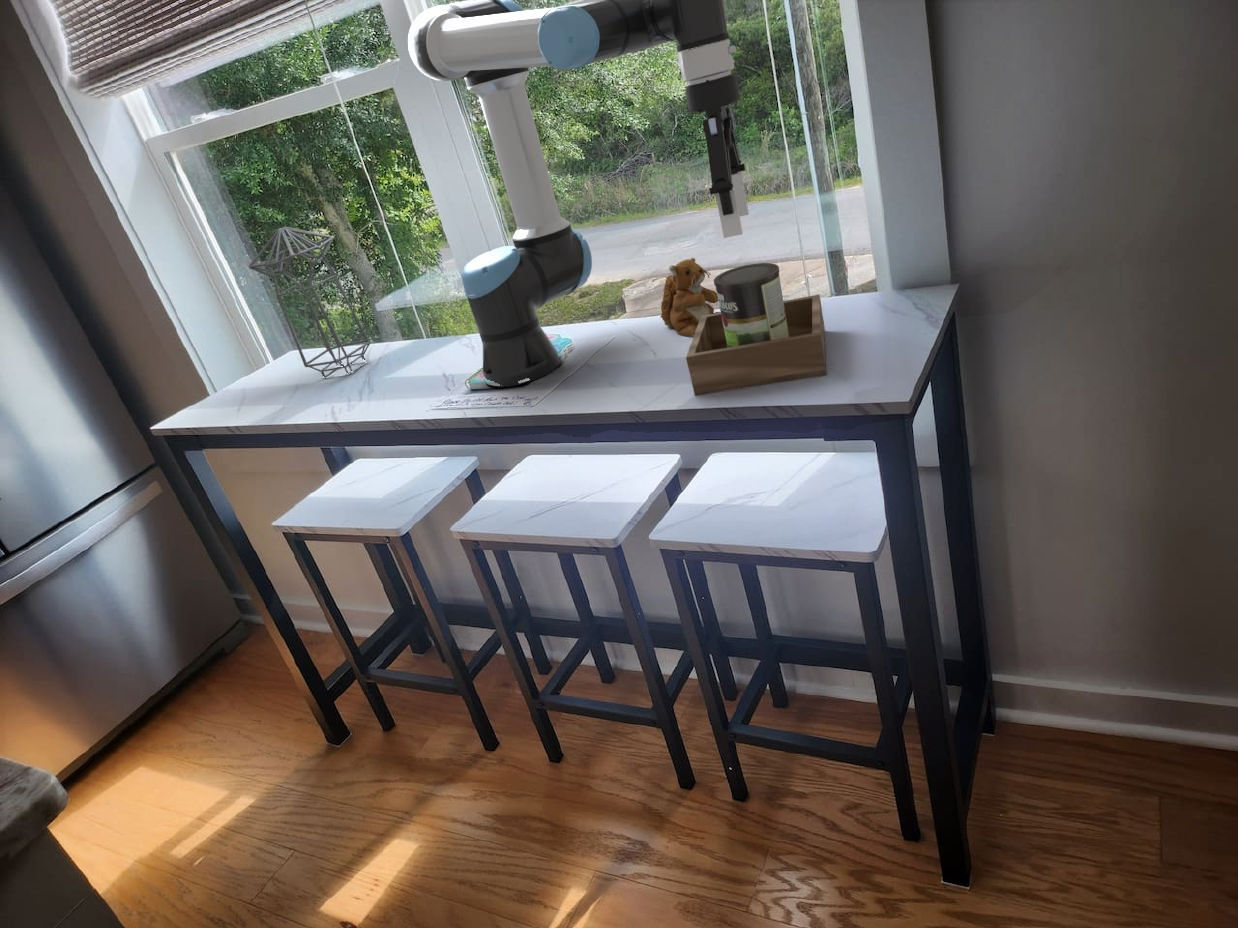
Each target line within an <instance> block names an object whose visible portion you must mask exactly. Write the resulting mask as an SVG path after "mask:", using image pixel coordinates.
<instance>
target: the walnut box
mask: <svg viewBox="0 0 1238 928" xmlns="http://www.w3.org/2000/svg"><path fill="white" fill-rule="evenodd" d="M820 295H821V294H815V295H814V294H813V295H810V296H809V295H808V296H804V297H797V298H791V299H788V300H783V302H784V308H785V314H786V321H787V327H788V333H789V337H788V338H782V339H776V340H770V341H764V342H758V343H752V344H747V345H741V346H735V347H729V348H728V347H727V342H726V336H725V331H724V326H723V321H722V316H721V311H719V312H720V313H715V312H714V313H715V314H709V315H704V316H701V318H700V320H699V323H698V326H697V329H696V331H695V334H694V336H692V340H691V343H690V345H689V348H688V351H687V353H686V356H685V358H686V363H687V367H688V373H689V378H690V381H691V385H692V389H693V393H694V397H695V396H700V395H708V394H713V393H714V394H715V393H721V392H726V391H733V390H740V389H746V388H747V389H748V388H751V387H752V388H753V387H758V386H759V387H760V386H766V385H771V384H772V385H773V384H777V383H784V382H785V383H786V382H790V381H797V380H805V379H811V378H817V377H823V376H824V377H825V376H827V375H828V374H827V351H826V350H827V349H826V346H827V345H826V328H825V327H826V326H825V322H824V315H823V308H822V303H821V296H820Z"/></svg>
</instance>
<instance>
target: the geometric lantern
mask: <svg viewBox="0 0 1238 928" xmlns="http://www.w3.org/2000/svg"><path fill="white" fill-rule="evenodd" d="M287 235H288V236H289V238H290V239H291V241H292V242H293V244H294V245H295V246H292V245H291V243H290V241H289V239H288V237H287ZM304 235H307V236H313V237H319V238H322V239H320V240H318V241H315V240H312V239H311V238H308V237H306V236H304ZM334 239H336V236H333V235H329V234H323V233H320V232H319V233H318V232H315V231H310V230H304V229H300V228H299V229H298V228H294V227H290V226H282V227H279V228H278V229H277V230H276V232H275V233H274V235H272V237H271V238H270V239H269V241H268V242H266V245H264V246H263V248H262V249H261V250H260V251H259V252H258V253H257V255H256V256H255V257H254V259H253V260H252V261H251V262H250V263H249V265H248V268H249V269H250V270H253V271H255V272H258V273H260V274H261V275H262V274H263V275H265V276H267V277H270V278H273V282H274V288H275V293H276V294H275V295H276V299H277V302H278V304H279V306H280V309H281V310H282V313H283V315H284V318H285V321H286V323H287V326H288V327H289V330H290V333H291V334H292V337H293V339H294V341H295V344H296V345H295V346H296V347H297V350H298V353H299V355H300V358H301V361H302V363H303V366H304V367H305V368H310V369H312V370H315V371H318V372H320V373H321V375H322V377H323V376H324V377H325V375H326V374H325V373H324V372H329V371H330V372H331V371H333V370H335V369H337V370H340V369H344V370H345V372H346V373H345V374H347V373H348V374H349V371H350V372H351V371H353V369H352V367H351V365H350V364H352V363H356V361H357V360H359V359H360V358H361V359H362V360H363V359H364V360H366V358H365V356H364V355H365V354H366V352H367V350H368V348H369V346H370V345H371V341H370V339H369V337H368V335H367V333H366V332H365V330H364V327H363V326H362V324H361V322H360V321H359V318H358V316H357V314H356V312H355V311H354V309H353V307H352V305H351V303H350V301H349V299H348V296H347V295H346V291H345V290H344V288H343V286H342V284H341V282H340V280H339V278H338V275H337V272H335V270H334V269H333V268H332V266H331V264H330V262H329V261H328V260H327V257H326V255H327V252H328V251H329V249H330V247H331V245H332V243H333V240H334ZM272 242H273V245H272V247H271V249H270V251H269V254H268V257H267V260H264V261H261V262H257V263H256V261H258V259H259V258H260V257H261V256H262V254H263V253H264V252H265V251H266V250H267V249H268V247H270V245H271V244H272ZM284 243H285V245H286V247H287V249H285V245H284ZM281 244H282V250H281V251H280V249H281ZM298 245H299V246H298ZM275 249H276V254H275V258H273V254H274V252H275ZM303 249H304V250H303ZM316 249H318V250H319V251H320V253H319V255H315V252H314V251H315V250H316ZM286 252H289V254H290V255H288V256H286V257H285V253H286ZM294 252H296V253H294ZM310 254H311V255H310ZM280 256H281V257H280ZM297 256H300V257H301V258H302V259H305V260H307V261H308V262H309V263H310V266H309V270H308V271H309V272H308V279H306V280H303V281H302V280H300V279H299V278H298V277H296V276H294V275H293V274H292V273H290V272H288V271H286V270H287V268H288V267H289V265H290V263H291V261H292V259H293V258H294V257H297ZM272 258H273V259H272ZM285 261H287V262H286V263H285V265H284V262H285ZM321 261H322V262H323V263H324V265H325V266H326V267H327V269H328V271H330V274H326V275H321V276H318V277H314V278H313V276H314V270H315V265H317V264H318V263H319V264H320V263H321ZM273 265H274V266H275V267H276V269H275V270H274V269H273V267H272V266H273ZM263 267H266V268H263ZM278 272H279V273H278ZM275 273H276V274H275ZM282 275H284V276H285V277H286V278H288V279H289V280H290V281H292V282H293V284H295V285H293V286H290V287H289V288H286V289H284V290H283V291H281V292H280V289H279V285H278V282H277V281H278V280H277V278H278V277H281V276H282ZM326 277H327V278H326ZM324 278H325V279H324ZM319 279H324V280H321V281H319V282H317V283H315V284H312V281H315V280H319ZM331 279H333V280H334V281H335V283H336V285H337V287H338V289H339V291H340V293H341V295H342V296H343V298H344V300H345V302H346V305H347V306H348V308H349V310H350V312H351V314H352V316H353V318H354V320H355V322H356V325H357V326H358V329H359V330H360V332H361V336H362V337H363V339H361V340H357V341H353V342H348V343H344V344H343V343H342V342H341V340H340V339H339V336H338V334H337V333H336V330H335V328H334V327H333V325H332V322H331V320H330V318H329V316H328V315H327V312H326V310H325V308H324V307H323V305H322V303H321V300H320V298H319V297H318V295H317V293H316V290H315V289H314V287H317V286H319V285H321V284H323V283H325V282H327V281H329V280H331ZM306 283H308V287H306V286H305V285H304V284H306ZM295 287H300V288H301V289H297V290H293V291H290V290H292V289H294V288H295ZM305 287H306V288H305ZM309 290H310V291H311V292H312V294H313V296H314V297H315V301H316V302H317V304H318V306H319V309H320V311H321V313H322V316H323V317H324V320H325V321H326V324H327V326H328V328H329V331H330V332H331V335H332V337H333V339H334V342H335V344H336V346H335V345H334V346H333V347H331V344H330V342H329V340H328V338H327V336H326V333H325V331H324V328H323V326H322V324H321V323H320V320H319V317H318V315H317V313H316V311H315V309H314V306H313V304H312V301H311V299H310V297H309V294H308V292H307V291H309ZM288 291H289V292H288ZM300 292H303V294H304V295H305V298H306V300H307V303H308V306H309V308H310V311H311V313H312V316H313V318H314V320H315V323H316V326H317V329H318V331H319V333H320V334H319V335H320V336H321V339H322V342H323V343H324V347H325V350H323V351H322V352H321V353H319V354H318V355H316V356H315V357H313V358H311V359H310V360H308V361H307V360H306V358H305V356H304V353H303V350H302V347H301V346H300V343H299V341H298V338H297V336H296V333H295V331H294V327H293V326H292V322H291V320H290V316H289V314H288V311H287V309H286V306H285V303H284V300H283V298H282V296H286V295H291V294H295V293H300ZM361 343H362V345H361V346H359V347H358V348H356V349H355V350H353V351H351V352H349V353H348V354H347V352H346V350H345V348H344V347H347V346H353V345H358V344H361ZM363 343H364V344H363ZM335 349H338V350H337V351H338V353H337V354H338V358H337V359H336V356H335V354H334V352H333V350H335ZM360 350H361V352H360V353H357V352H359V351H360ZM341 351H342V353H343V355H344V356H342V357H341ZM327 353H329V354H330V356H331V358H332V359H333V360H330V361H324V362H319V363H318V362H317V363H313V362H314V361H315V360H317V359H318V358H320V357H322V356H324V354H327ZM355 353H357V354H355ZM357 356H358V357H357ZM354 357H356V358H355V359H353V360H352V361H351V362H350V361H349V359H350V358H354ZM345 359H346V364H347V365H346V366H344V363H343V362H342V361H344V360H345ZM311 363H312V364H311ZM341 363H342V364H341ZM333 364H335V365H336V367H332V368H329V367H330V366H332V365H333ZM338 364H339V365H338ZM324 365H326V366H324ZM337 365H338V366H343V367H337ZM317 366H324V367H323V368H321V369H319V368H317ZM347 368H349V371H348V370H347ZM335 371H336V370H335Z"/></svg>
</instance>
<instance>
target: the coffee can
mask: <svg viewBox="0 0 1238 928" xmlns="http://www.w3.org/2000/svg"><path fill="white" fill-rule="evenodd" d="M713 284H714V286H715V290H716V291H715V292H716V293H717V296H718V306H719V310H720V311H719V312H721V316H722V321H723V326H724V331H725V336H726V342H727V347H728V348H729V347H735V346H741V345H747V344H752V343H758V342H764V341H770V340H776V339H782V338H788V337H789V333H788V327H787V321H786V314H785V308H784V302H783V301H784V298H783V290H782V283H781V278H780V266H779V265H777V264H776V263H770V262H762V263H761V262H760V263H753V264H751V263H750V264H745V265H741V266H738V267H734V268H732V269H729V270H728V269H727V270H726V271H724V272H721V273H720V274H718V275H717V276H716V277H715V278H714V279H713Z"/></svg>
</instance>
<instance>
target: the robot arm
mask: <svg viewBox="0 0 1238 928" xmlns="http://www.w3.org/2000/svg"><path fill="white" fill-rule="evenodd" d="M726 16H727V15H726V10H725V3H724V0H595V1H589V2H584V3H578V4H573V5H563V6H558V7H557V6H556V7H550V8H549V7H548V8H547V7H546V8H537V9H532V10H524V9H523V8H522V7H521V5H520V4H519V3H516V2H515V1H514V0H461V1H458V2H457V1H456V2H452V3H447V4H440V5H436V6H432V7H431V8H427V9H426V10H424V11H422V12H421V13H420V14H419V15H418V16H417V17H416V18H415V20H414V21H413V22H412V24H411V25H410V28H409V31H408V36H407V45H408V46H407V47H408V52H409V55H410V58H411V60H412V62H413V64H414V66H416V68H417V69H418V70H419V71H420V72H421V73H422V75H423V74H424V76H426V77H428V78H430V79H431V80H435V81H439V82H440V81H441V82H450V81H451V82H452V81H456V80H457V81H458V80H462V79H464V82H465V85H466V87H467V90H468V91H470V92H471V93H473V94H474V95H476V96H477V97H478V98H479V102H480V105H481V109H482V112H483V117H484V120H485V121H486V122H485V123H486V126H487V129H488V133H489V137H490V140H491V143H492V147H493V149H494V153H495V157H496V159H497V163H498V166H499V167H498V168H499V169H500V173H501V176H502V180H503V184H504V186H505V187H504V188H505V190H506V194H507V197H508V201H509V203H510V207H511V211H512V215H513V218H514V221H515V224H516V230H515V232H514V234H513V236H512V243H513V245H514V246H513V245H504V246H500V247H496V248H494V249H492V250H491V251H486V252H484V253H482V254H480V255H477V256H476V257H475V258H473V259H472V260H471V261H469V262H468V263H466V264H465V266H464V267H463V269H462V271H461V280H462V281H461V282H462V285H463V289H464V294H465V296H466V298H467V300H468V304H469V307H470V309H471V313H472V316H473V318H474V322H475V325H476V328H477V331H478V335H479V336H480V339H481V343H482V375H483V378H484V377H485V378H486V379H487V380H490V381H494V382H495V383H498V384H500V387H499V388H507V387H514V386H519V385H520V384H519V383H518V381H520V380H523V379H525V378H529V379H530V380H531V381H530V382H532V381H535V380H537V379H540V378H542V377H544V376H546V375H548V374H550V373H551V372H553V371H554V370H555V369H557V368H558V367H559V365H560V363H561V360H559V359H560V357H559V352H558V350H557V348H556V347H555V346H554V344H553V343H552V341H551V340H550V338H549V337H548V336H547V334H546V333H545V331H544V329H543V328H542V326H541V324H540V321H539V317H538V313H537V309H539V308H541V307H543V306H545V305H547V304H549V303H552V302H554V301H555V300H557V299H558V300H559V299H560V298H562V297H564V296H569V295H571V294H572V293H574V292H575V291H576V290H578V289H579V288H581V287H583V286H584V285H585V284H586V283H587V281H588V279H589V278H590V275H591V272H592V265H593V259H592V258H593V257H592V252H591V249H590V246H589V244H588V242H587V241H588V240H587V239H583V237H584V236H583V235H582V233H580V231H578V230H575V229H573V228H572V226H571V222H570V221H569V220H567V219H565V218H564V217H563V216H561V215H560V211H559V207H558V205H557V201H556V197H555V193H554V189H553V185H552V181H551V178H550V175H549V171H548V167H547V163H546V160H545V157H544V155H545V154H544V152H543V148H542V145H541V141H540V137H539V133H538V130H537V127H536V122H535V119H534V116H533V112H532V109H531V105H530V100H529V97H528V94H527V90H526V86H525V84H526V80H527V78H528V76H529V74H530V69H529V68H538V67H539V68H540V67H553V68H554V69H555V70H559V71H565V70H566V71H567V70H575V69H581V68H584V67H585V66H587V65H591V64H593V63H598V62H602V61H604V60H608V59H614V58H616V57H621V56H624V55H626V54H627V55H628V54H632V53H633V54H635V53H638V52H643V51H645V50H647V49H650V48H653V47H656V46H659V45H663V44H666V43H670V42H674V43H675V46H676V47H675V48H676V52H677V53H676V54H677V58H678V64H679V69H680V70H679V71H680V75H681V79H682V82H683V83H687V84H686V86H685V89H684V94H685V97H686V103H687V107H688V110H689V112H690V113H693V114H695V113H702V112H705V119H704V120H703V122H702V126H703V128H702V129H703V132H704V136H705V141H706V149H707V155H708V163H709V171H710V177H711V187H709V188H708V190H709V195H715V199H716V204H717V208H718V209H717V210H718V214H719V220H720V225H721V230H722V235H723V239H726V238H733V237H736V236H740V235H743V229H742V222H741V218H740V217H743V216H749V209H748V202H747V198H746V190H745V186H744V180H743V176H742V172H744V171H746V164H745V163H742V159H740V155H739V152H738V147H737V141H736V138H735V130H734V121H733V117H732V116H731V115H730V112H731V111H730V109H729V107H728V106H729V105H732V104H735V103H738V101H739V100H740V98H741V96H740V90H739V89H740V87H739V83H738V78H737V75H736V74H735V73H732V70H734V68H735V62H734V57H733V55H732V54H734V53H736V52H737V48H736V46H735V45H731V42H730V41H731V40H730V35H729V34H730V33H729V31H728V25H727V18H726ZM725 106H727V107H725ZM485 378H484V379H485ZM501 385H502V387H501ZM504 386H505V387H504Z"/></svg>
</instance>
